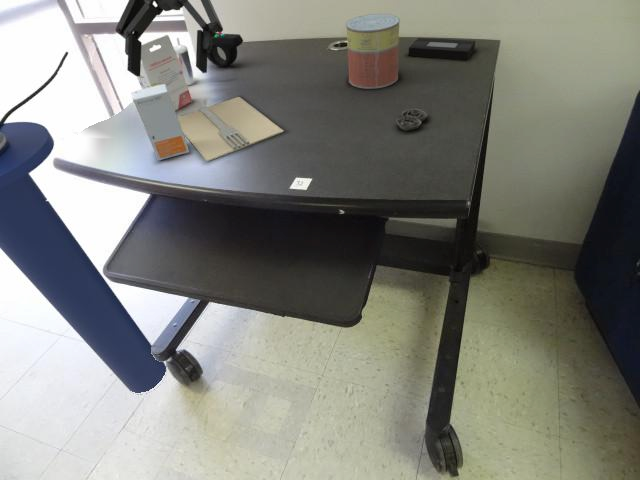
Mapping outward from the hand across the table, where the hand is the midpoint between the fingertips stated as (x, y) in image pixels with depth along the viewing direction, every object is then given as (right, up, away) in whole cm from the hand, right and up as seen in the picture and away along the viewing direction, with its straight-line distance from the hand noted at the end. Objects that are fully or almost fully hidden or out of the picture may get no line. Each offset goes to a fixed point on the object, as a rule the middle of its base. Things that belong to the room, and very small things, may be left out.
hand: (167, 71), depth 73 cm
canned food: (+41, +6, +19) cm, 45 cm away
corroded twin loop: (+45, -9, +2) cm, 46 cm away
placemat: (+9, -7, +9) cm, 15 cm away
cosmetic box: (0, -14, +3) cm, 15 cm away
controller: (+3, +16, +35) cm, 39 cm away
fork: (+8, -8, +9) cm, 14 cm away
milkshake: (-6, +9, +29) cm, 31 cm away
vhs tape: (+59, +16, +26) cm, 66 cm away
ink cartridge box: (-6, 0, +19) cm, 20 cm away
